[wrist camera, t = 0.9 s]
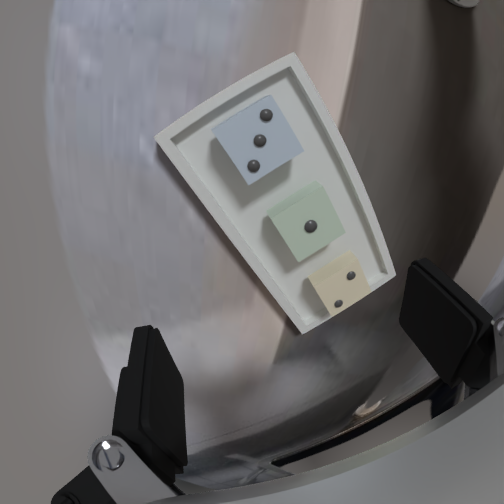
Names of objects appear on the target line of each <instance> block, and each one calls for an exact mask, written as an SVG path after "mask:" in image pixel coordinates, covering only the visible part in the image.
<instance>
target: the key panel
mask: <svg viewBox="0 0 504 504" xmlns="http://www.w3.org/2000/svg"><path fill="white" fill-rule="evenodd" d="M267 95H272V97H273V98H274V100H275V102H276V103H277V105H278V107H279V108H280V110H281V111H282V113H283V115H284V116H285V118H286V120H287V122H288V123H289V125H290V127H291V128H292V130H293V132H294V134H295V135H296V137H297V139H298V141H299V142H300V144H301V146H302V148H303V149H304V152H302V153H300V154H299V155H297V156H295V157H294V158H292V159H291V160H289V161H287V162H286V163H284V164H282V165H281V166H279V167H277V168H276V169H274V170H273V171H271V172H269V173H268V174H266V175H265V176H263V177H261V178H260V179H258V180H257V181H255V182H253V183H252V184H250V185H248V184H247V182H246V181H245V179H244V178H243V176H242V175H241V173H240V172H239V170H238V169H237V167H236V166H235V164H234V163H233V161H232V160H231V158H230V157H229V155H228V154H227V152H226V151H225V149H224V148H223V146H222V145H221V144H220V142H219V141H218V139H217V138H216V136H215V135H214V133H213V132H212V130H211V129H212V128H213V127H215V126H216V125H218V124H219V123H221V122H223V121H224V120H226V119H227V118H229V117H231V116H232V115H234V114H235V113H237V112H239V111H240V110H242V109H244V108H245V107H247V106H249V105H250V104H252V103H254V102H256V101H257V100H259V99H261V98H263V97H264V96H267ZM154 138H155V140H156V141H157V143H158V144H159V145H160V147H161V148H162V149H163V151H164V152H165V153H166V155H167V156H168V157H169V159H170V160H171V161H172V163H173V164H174V166H175V167H176V168H177V170H178V171H179V172H180V174H181V175H182V176H183V178H184V179H185V180H186V182H187V183H188V184H189V186H190V187H191V188H192V190H193V191H194V192H195V194H196V195H197V196H198V198H199V199H200V200H201V202H202V203H203V204H204V206H205V207H206V208H207V210H208V211H209V212H210V214H211V215H212V216H213V218H214V219H215V220H216V222H217V223H218V224H219V226H220V227H221V228H222V230H223V231H224V232H225V234H226V235H227V236H228V238H229V239H230V240H231V242H232V243H233V244H234V246H235V247H236V248H237V249H238V251H239V252H240V253H241V255H242V256H243V257H244V259H245V260H246V261H247V263H248V264H249V265H250V267H251V268H252V269H253V271H254V272H255V273H256V275H257V276H258V277H259V278H260V280H261V281H262V282H263V284H264V285H265V286H266V288H267V289H268V290H269V292H270V293H271V294H272V295H273V297H274V298H275V299H276V301H277V302H278V303H279V305H280V306H281V307H282V309H283V310H284V311H285V312H286V314H287V315H288V316H289V318H290V319H291V320H292V322H293V323H294V324H295V325H296V327H297V328H298V329H299V331H300V332H301V333H302V334H304V333H306V332H308V331H309V330H311V329H313V328H314V327H316V326H318V325H320V324H321V323H323V322H325V321H326V320H328V319H330V318H331V317H332V316H331V315H330V313H329V311H328V310H327V308H326V306H325V305H324V303H323V302H322V300H321V298H320V297H319V295H318V293H317V292H316V290H315V288H314V287H313V285H312V283H311V282H310V280H309V278H308V276H309V275H311V274H312V273H314V272H315V271H317V270H319V269H320V268H322V267H323V266H325V265H327V264H328V263H330V262H331V261H333V260H335V259H336V258H338V257H339V256H341V255H342V254H344V253H345V252H347V251H349V250H350V251H351V252H352V253H353V254H354V255H355V256H356V258H357V259H358V261H359V263H360V265H361V268H362V270H363V272H364V275H365V277H366V279H367V282H368V284H369V287H370V289H371V292H372V291H374V290H375V289H377V288H378V287H380V286H381V285H383V284H384V283H386V282H387V281H389V280H390V279H391V278H393V277H394V276H396V273H395V270H394V267H393V264H392V261H391V258H390V255H389V252H388V249H387V246H386V243H385V240H384V237H383V234H382V231H381V229H380V226H379V223H378V221H377V218H376V215H375V213H374V210H373V207H372V205H371V202H370V200H369V197H368V195H367V192H366V190H365V188H364V185H363V183H362V181H361V178H360V176H359V174H358V171H357V169H356V167H355V165H354V162H353V160H352V158H351V156H350V154H349V151H348V149H347V147H346V145H345V143H344V141H343V139H342V137H341V135H340V133H339V131H338V129H337V127H336V125H335V123H334V121H333V119H332V117H331V115H330V113H329V111H328V109H327V107H326V106H325V104H324V102H323V100H322V98H321V96H320V95H319V93H318V91H317V89H316V87H315V86H314V84H313V82H312V80H311V79H310V77H309V75H308V74H307V72H306V70H305V69H304V67H303V65H302V64H301V62H300V60H299V59H298V57H297V56H296V54H295V52H293V53H291V54H289V55H286V56H284V57H282V58H280V59H278V60H276V61H274V62H272V63H270V64H269V65H267V66H265V67H263V68H261V69H259V70H257V71H255V72H253V73H252V74H250V75H248V76H246V77H244V78H243V79H241V80H239V81H237V82H236V83H234V84H232V85H231V86H229V87H227V88H226V89H224V90H222V91H221V92H219V93H217V94H216V95H214V96H212V97H211V98H209V99H208V100H206V101H205V102H203V103H201V104H200V105H198V106H197V107H195V108H194V109H192V110H191V111H189V112H188V113H186V114H185V115H183V116H182V117H181V118H179V119H178V120H176V121H175V122H173V123H172V124H171V125H169V126H168V127H166V128H165V129H164V130H162V131H161V132H160V133H158V134H157V135H156V136H154ZM313 181H317V182H318V183H319V184H321V185H322V186H323V187H324V189H325V191H326V193H327V195H328V197H329V199H330V201H331V203H332V205H333V207H334V209H335V211H336V213H337V215H338V217H339V219H340V221H341V223H342V225H343V228H344V230H345V232H346V233H345V234H343V235H341V236H340V237H338V238H337V239H335V240H334V241H332V242H330V243H329V244H327V245H326V246H324V247H323V248H321V249H319V250H318V251H316V252H315V253H313V254H311V255H310V256H308V257H307V258H305V259H303V260H302V261H300V262H299V263H298V261H297V259H296V258H295V256H294V255H293V253H292V252H291V250H290V248H289V247H288V245H287V244H286V242H285V240H284V239H283V237H282V236H281V234H280V233H279V231H278V230H277V228H276V226H275V225H274V223H273V222H272V220H271V219H270V217H269V215H268V214H267V212H266V211H267V210H268V209H270V208H271V207H273V206H275V205H276V204H278V203H279V202H281V201H283V200H284V199H286V198H287V197H289V196H291V195H292V194H294V193H295V192H297V191H299V190H300V189H302V188H303V187H305V186H307V185H308V184H310V183H312V182H313Z"/></svg>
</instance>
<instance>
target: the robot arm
mask: <svg viewBox="0 0 504 504" xmlns="http://www.w3.org/2000/svg"><path fill="white" fill-rule="evenodd" d="M448 1H450V2H451V3H453V4H455V5H457V6H460V7H463V8H468V7H474V6H475V5H477V4H478V2H479V0H448ZM492 319H493V317H492V316H491V315H490V314H489V313H488V312H487V311H486V310H485V309H484V308H483V307H482V306H481V305H480V304H479V303H478V302H476V301H475V300H474V299H473V298H472V297H471V296H470V295H469V294H468V293H467V292H465V291H464V290H463V289H462V288H461V287H460V286H459V285H458V284H457V283H455V282H454V281H453V280H452V279H451V278H450V277H448V276H447V275H446V274H445V273H444V272H443V271H441V270H440V269H439V268H438V267H437V266H436V265H434V264H433V263H432V262H431V261H429V260H428V259H427V258H422V259H419V260H416V261H413V262H412V263H411V266H410V267H409V268H408V274H407V280H406V286H405V292H404V297H403V302H402V307H401V312H400V317H399V322H400V325H401V327H402V328H403V329H404V331H405V332H406V333H407V334H408V336H409V337H410V338H411V340H412V341H413V342H414V343H415V345H416V346H417V347H418V348H419V350H420V351H421V352H422V354H423V355H424V356H425V358H426V359H427V360H428V362H429V363H430V364H431V366H432V367H433V368H434V370H435V371H436V372H437V374H438V375H439V376H440V378H441V379H442V381H443V382H444V383H448V385H449V386H450V387H451V388H453V387H455V386H456V385H458V384H460V383H461V382H462V380H463V381H464V383H465V393H464V400H463V401H462V402H460V403H459V404H457V405H456V406H454V407H452V408H451V409H449V410H447V411H446V412H444V413H442V414H441V415H439V416H437V417H435V418H434V419H432V420H430V421H428V422H427V423H425V424H423V425H421V426H419V427H417V428H415V429H413V430H411V431H410V432H407V433H405V434H403V435H402V436H399V437H397V438H395V439H393V440H391V441H388V442H386V443H384V444H382V445H379V446H377V447H375V448H373V449H370V450H368V451H365V452H363V453H360V454H358V455H355V456H352V457H350V458H347V459H345V460H342V461H339V462H336V463H333V464H330V465H327V466H324V467H320V468H317V469H314V470H311V471H308V472H304V473H300V474H296V475H293V476H289V477H285V478H281V479H276V480H272V481H267V482H262V483H258V484H253V485H248V486H242V487H236V488H230V489H224V490H217V491H209V492H202V493H195V494H188V495H186V494H185V493H184V492H183V491H181V490H180V489H179V488H178V487H177V486H176V485H175V484H174V482H175V474H182V473H184V472H183V466H187V463H188V460H187V447H186V430H185V410H184V384H183V379H182V376H181V374H180V372H179V370H178V368H177V367H176V365H175V363H174V361H173V359H172V357H171V355H170V352H169V350H168V348H167V346H166V344H165V342H164V340H163V338H162V336H161V334H160V331H159V330H158V328H155V329H153V327H152V326H151V325H147V326H142V327H136V328H135V329H134V333H133V338H132V343H131V349H130V354H129V360H128V366H127V367H123V368H122V370H121V373H120V378H119V385H118V391H117V397H116V404H115V412H114V419H113V428H112V436H111V435H108V436H103V437H101V438H99V439H97V440H96V441H95V442H94V443H93V444H92V445H91V447H90V449H89V452H88V463H89V466H88V467H86V468H85V469H84V470H83V471H82V472H81V473H79V474H78V475H77V476H76V477H75V478H74V479H72V480H71V481H70V482H69V483H68V484H67V485H65V486H64V487H63V488H61V489H60V490H59V491H58V492H57V493H56V494H55V495H54V496H53V498H52V501H51V504H504V317H502V318H499V319H497V320H496V321H495V323H494V325H493V324H492V323H491V321H492Z"/></svg>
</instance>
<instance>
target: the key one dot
mask: <svg viewBox="0 0 504 504" xmlns="http://www.w3.org/2000/svg"><path fill="white" fill-rule="evenodd" d="M266 212H267V214H268V215H269V217H270V219H271V220H272V222H273V223H274V225H275V226H276V228H277V230H278V231H279V233H280V234H281V236H282V237H283V239H284V240H285V242H286V244H287V245H288V247H289V248H290V250H291V252H292V253H293V255H294V256H295V258H296V259H297V261H298V263H299V262H300V261H302V260H303V259H305V258H307V257H308V256H310V255H311V254H313V253H315V252H316V251H318V250H319V249H321V248H323V247H324V246H326V245H327V244H329V243H330V242H332V241H334V240H335V239H337V238H338V237H340V236H341V235H343V234H345V233H346V232H345V230H344V228H343V225H342V223H341V221H340V219H339V217H338V215H337V213H336V211H335V209H334V207H333V205H332V203H331V201H330V199H329V197H328V195H327V193H326V191H325V189H324V187H323V186H322V185H321V184H319V183H318V182H317V181H313V182H312V183H310V184H308V185H307V186H305V187H303V188H302V189H300V190H299V191H297V192H295V193H294V194H292V195H291V196H289V197H287V198H286V199H284V200H283V201H281V202H279V203H278V204H276V205H275V206H273V207H271V208H270V209H268V210H267V211H266Z"/></svg>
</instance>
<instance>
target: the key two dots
mask: <svg viewBox="0 0 504 504" xmlns="http://www.w3.org/2000/svg"><path fill="white" fill-rule="evenodd" d="M308 278H309V280H310V282H311V283H312V285H313V287H314V288H315V290H316V292H317V293H318V295H319V297H320V298H321V300H322V302H323V303H324V305H325V306H326V308H327V310H328V311H329V313H330V315H331V316H332V317H333V316H335V315H336V314H338V313H339V312H341V311H343V310H344V309H346V308H347V307H349V306H351V305H352V304H354V303H355V302H357V301H358V300H360V299H362V298H363V297H365V296H366V295H368V294H369V293H371V289H370V287H369V284H368V282H367V279H366V277H365V275H364V272H363V270H362V268H361V265H360V263H359V261H358V259H357V258H356V256H355V255H354V254H353V253H352V252H351V251H350V250H349V251H347V252H345V253H344V254H342V255H341V256H339V257H338V258H336V259H335V260H333V261H331V262H330V263H328V264H327V265H325V266H323V267H322V268H320V269H319V270H317V271H315V272H314V273H312V274H311V275H309V276H308Z"/></svg>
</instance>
